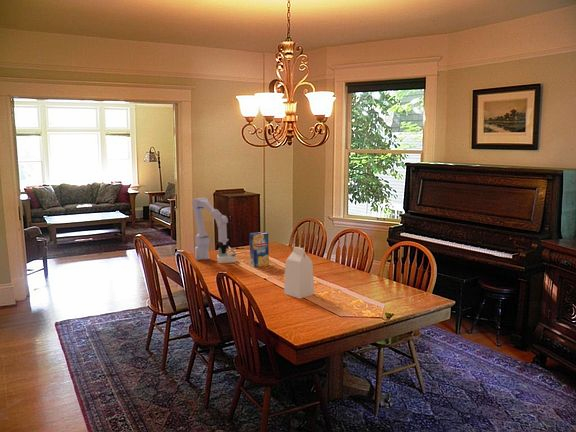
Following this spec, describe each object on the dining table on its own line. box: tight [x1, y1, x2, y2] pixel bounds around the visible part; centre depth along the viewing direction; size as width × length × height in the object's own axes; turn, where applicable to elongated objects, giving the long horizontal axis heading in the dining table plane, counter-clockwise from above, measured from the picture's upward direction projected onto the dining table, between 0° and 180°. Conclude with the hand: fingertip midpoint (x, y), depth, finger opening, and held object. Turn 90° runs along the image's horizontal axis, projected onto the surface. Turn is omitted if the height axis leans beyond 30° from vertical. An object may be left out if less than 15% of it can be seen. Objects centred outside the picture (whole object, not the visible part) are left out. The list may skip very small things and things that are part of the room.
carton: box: [216, 253, 237, 264], centre depth 338 cm, size 12×9×4 cm
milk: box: [283, 246, 315, 299], centre depth 262 cm, size 12×12×26 cm
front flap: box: [217, 247, 228, 257], centre depth 333 cm, size 6×6×1 cm
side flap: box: [227, 246, 237, 256], centre depth 338 cm, size 6×8×1 cm
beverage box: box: [249, 231, 270, 268], centre depth 325 cm, size 7×11×22 cm, turn 119°
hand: (223, 252), depth 332 cm, fingers open, 4 cm apart
